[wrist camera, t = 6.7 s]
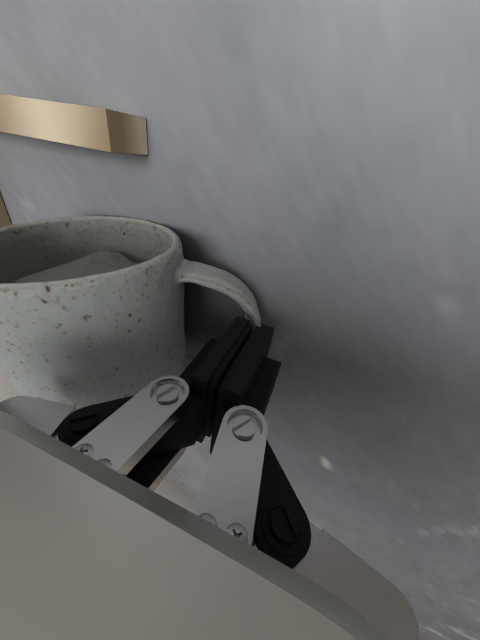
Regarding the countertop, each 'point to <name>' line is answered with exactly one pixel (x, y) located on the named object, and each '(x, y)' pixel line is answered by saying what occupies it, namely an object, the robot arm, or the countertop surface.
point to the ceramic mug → (98, 306)
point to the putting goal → (71, 127)
